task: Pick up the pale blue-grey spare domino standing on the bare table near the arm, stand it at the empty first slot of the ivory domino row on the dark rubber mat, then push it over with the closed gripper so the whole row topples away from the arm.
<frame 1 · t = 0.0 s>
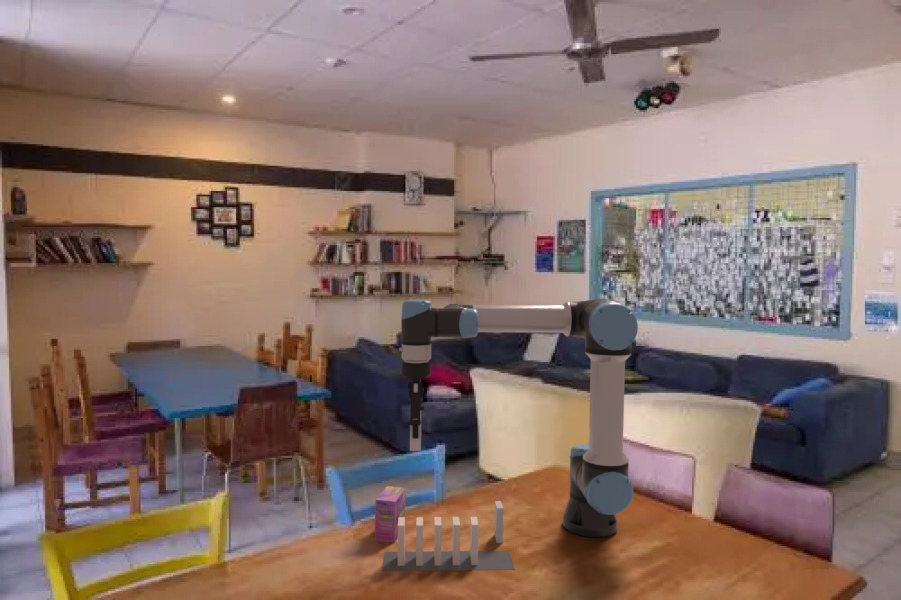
hand: (415, 442, 163), 28 cm above the table, fingers open, 13 cm apart
mat: (447, 562, 157), on the table
domino 3: (455, 560, 157), point 1 cm above the table, touching mat
domino 4: (437, 560, 157), point 1 cm above the table, touching mat
domino 6: (401, 560, 156), point 1 cm above the table, touching mat
domino 5: (419, 560, 157), point 1 cm above the table, touching mat
domino 2: (474, 560, 157), point 1 cm above the table, touching mat
box: (390, 536, 172), on the table
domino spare: (498, 541, 169), on the table
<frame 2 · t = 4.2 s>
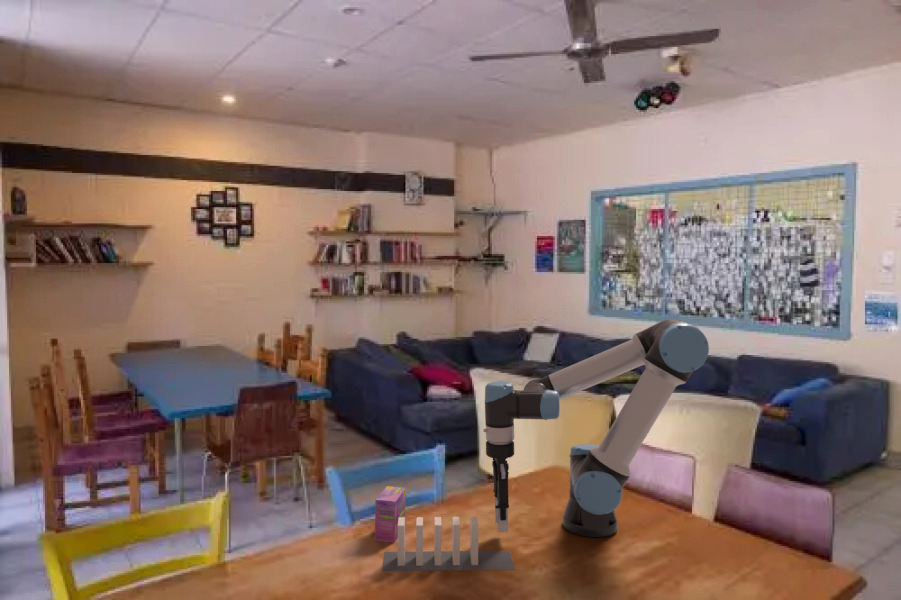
hand: (501, 526, 169), 4 cm above the table, fingers closed on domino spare, 5 cm apart
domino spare: (502, 527, 169), point 4 cm above the table, touching gripper
everything else where it was.
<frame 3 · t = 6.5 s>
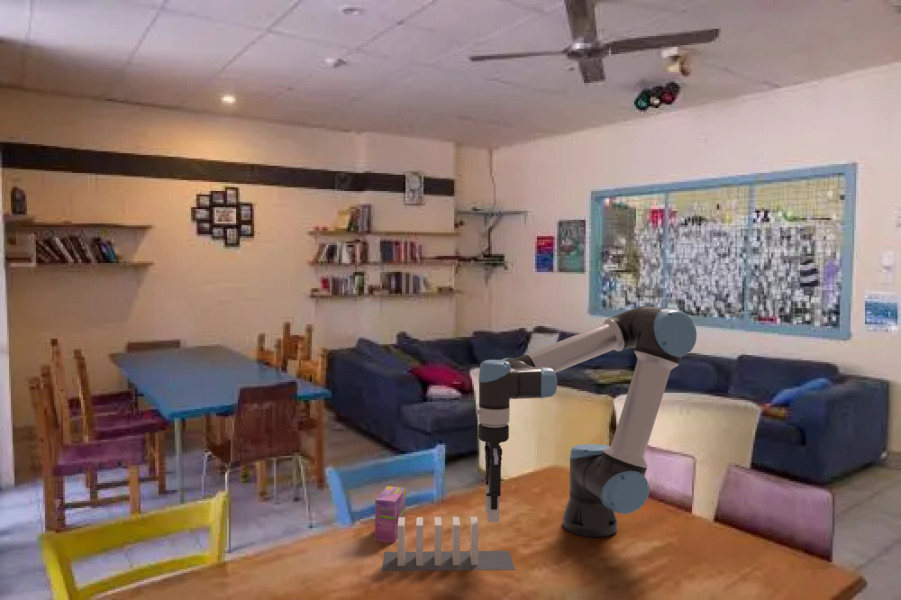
hand: (492, 516, 157), 12 cm above the table, fingers closed on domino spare, 5 cm apart
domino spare: (492, 517, 157), point 11 cm above the table, touching gripper
everything else where it was.
when the fingers open (1 cm above the table, at t = 8.6 s): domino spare stays where it is, resting on mat.
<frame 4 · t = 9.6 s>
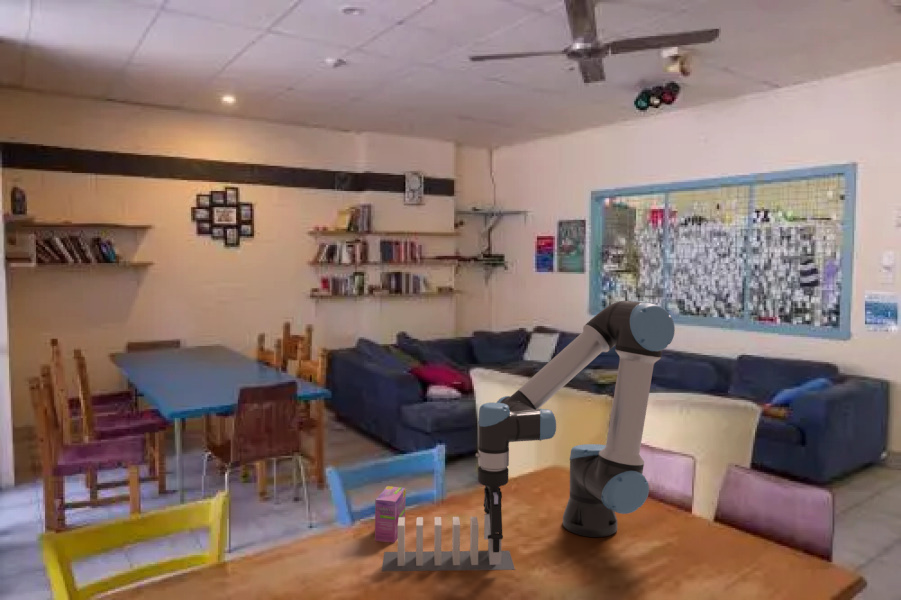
hand: (492, 550, 157), 3 cm above the table, fingers open, 13 cm apart
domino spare: (492, 559, 157), point 1 cm above the table, touching mat
everything else where it was.
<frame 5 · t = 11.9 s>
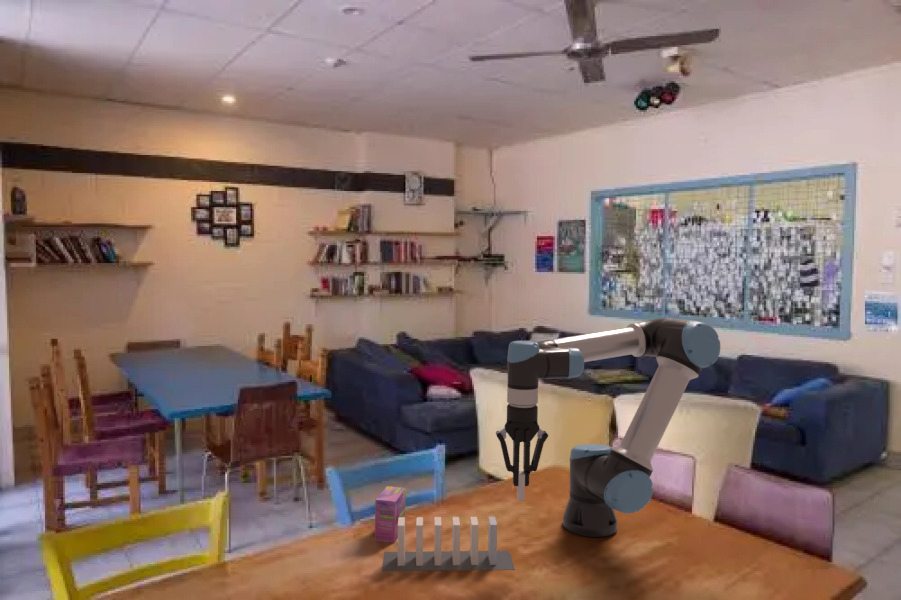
hand: (520, 498, 157), 16 cm above the table, fingers closed
nothing on the table moved.
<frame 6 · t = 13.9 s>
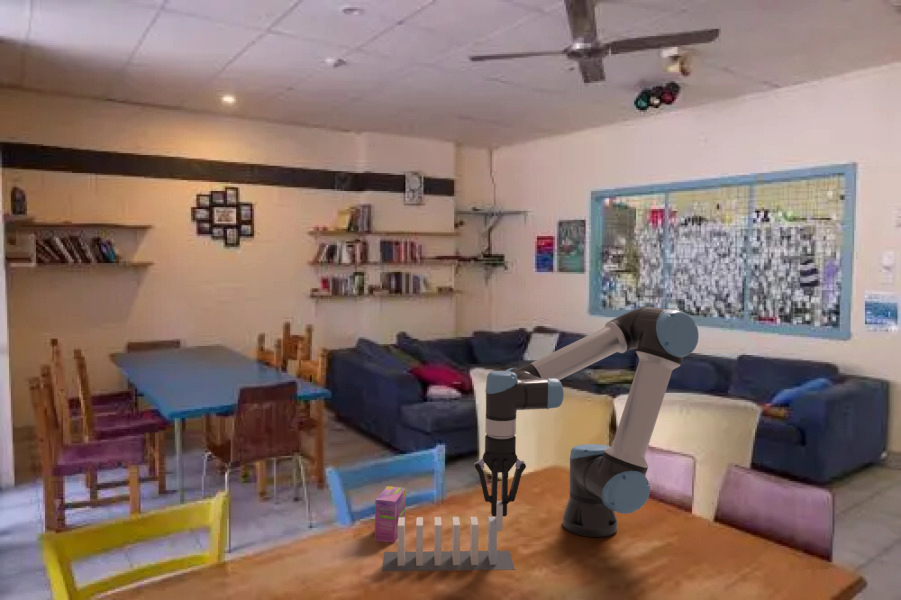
hand: (498, 528, 157), 9 cm above the table, fingers closed
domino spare: (492, 559, 157), point 1 cm above the table, touching gripper, mat
everything else where it was.
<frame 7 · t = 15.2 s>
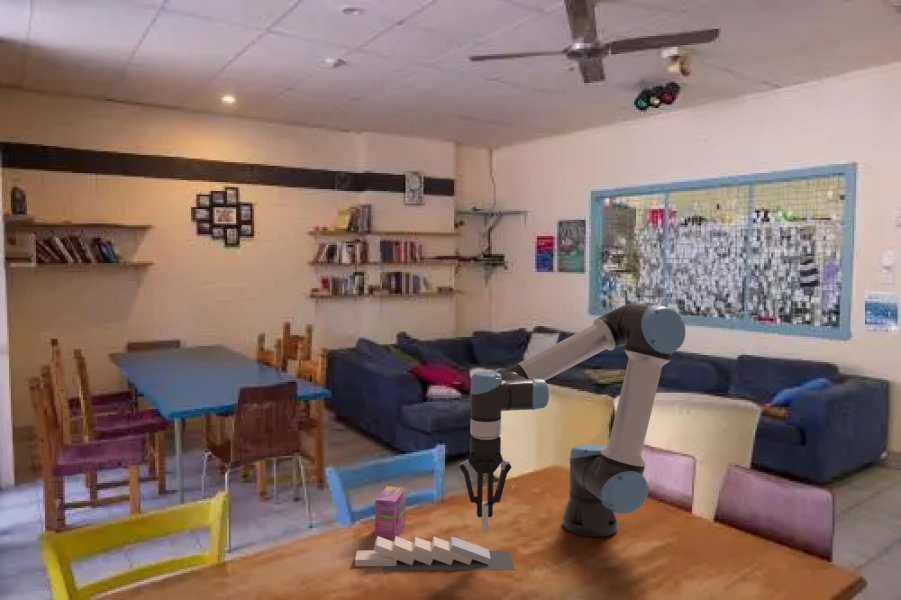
hand: (484, 529, 157), 8 cm above the table, fingers closed
domino 3: (451, 557, 157), point 1 cm above the table, tilted 70°, touching domino 2, domino 4, mat
domino 4: (431, 557, 157), point 1 cm above the table, tilted 68°, touching domino 3, domino 5, mat
domino 6: (396, 557, 156), point 1 cm above the table, tilted 90°, touching domino 5, mat
domino 5: (413, 557, 156), point 1 cm above the table, tilted 68°, touching domino 4, domino 6
domino 2: (470, 557, 157), point 1 cm above the table, tilted 69°, touching domino 3, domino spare, mat
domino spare: (488, 557, 157), point 1 cm above the table, tilted 69°, touching domino 2
everything else where it was.
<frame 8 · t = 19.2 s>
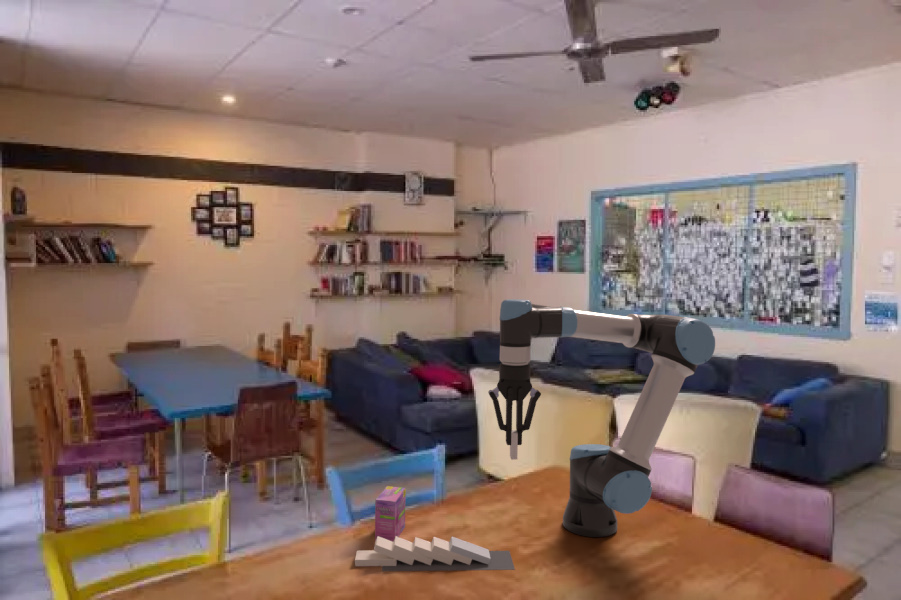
hand: (513, 457, 156), 26 cm above the table, fingers closed
nothing on the table moved.
at the end: domino 6 tilted 90°; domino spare tilted 69° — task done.
